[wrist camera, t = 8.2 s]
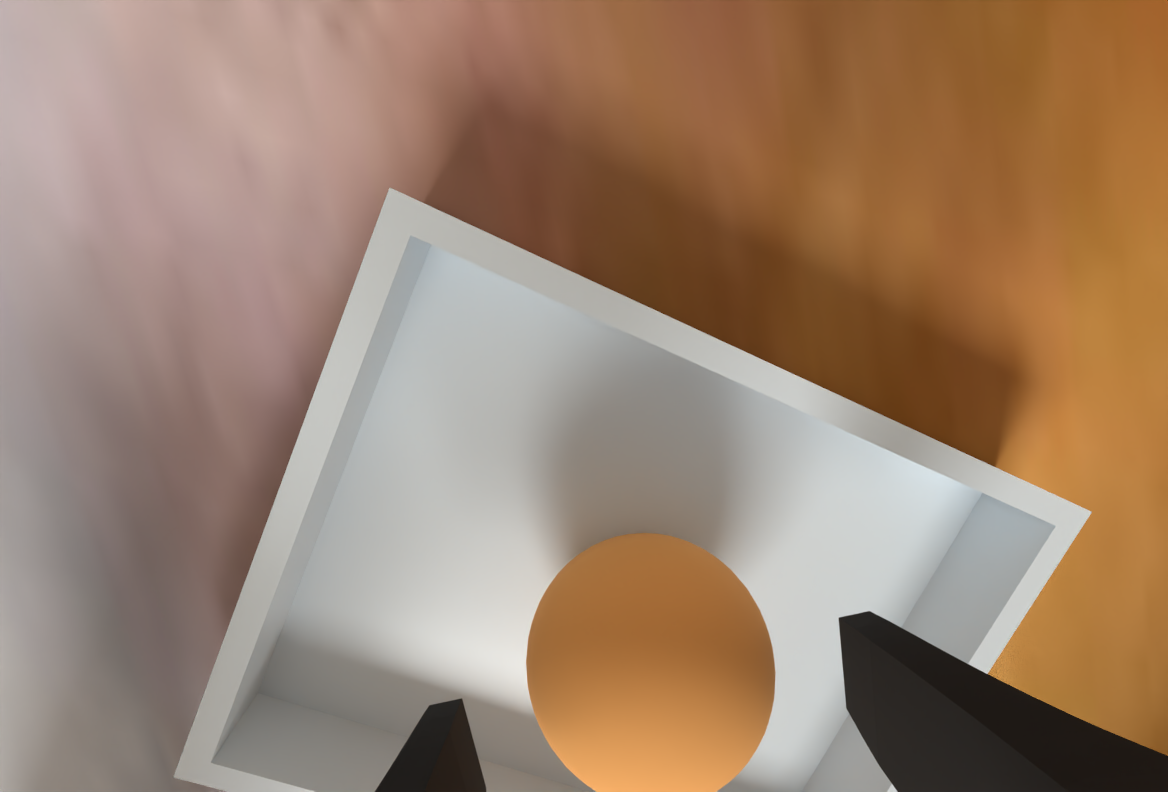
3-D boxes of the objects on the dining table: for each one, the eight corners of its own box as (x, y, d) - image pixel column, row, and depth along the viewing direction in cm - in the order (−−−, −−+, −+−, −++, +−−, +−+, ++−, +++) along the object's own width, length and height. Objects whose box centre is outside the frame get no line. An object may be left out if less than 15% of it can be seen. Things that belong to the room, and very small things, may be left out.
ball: (757, 539, 14) (880, 679, 9) (671, 701, 15) (741, 912, 10) (577, 466, 13) (604, 578, 8) (495, 642, 14) (475, 841, 9)
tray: (995, 471, 15) (1092, 512, 12) (769, 845, 17) (810, 947, 14) (420, 206, 12) (389, 187, 9) (238, 687, 14) (173, 777, 12)
